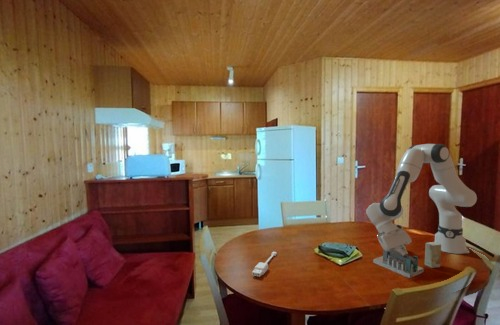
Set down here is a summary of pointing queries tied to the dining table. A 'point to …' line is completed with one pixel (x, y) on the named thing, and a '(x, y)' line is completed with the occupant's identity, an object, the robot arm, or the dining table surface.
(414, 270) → the grey dish rack
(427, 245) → the skincare box
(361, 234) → the dining table surface
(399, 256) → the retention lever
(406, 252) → the robot arm
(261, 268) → the charging cable
